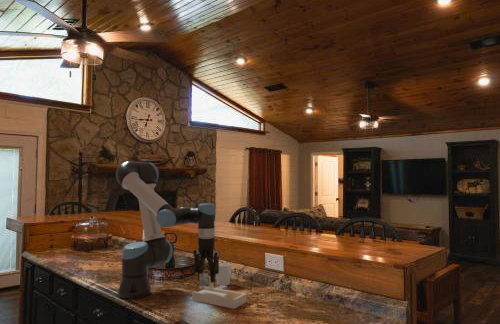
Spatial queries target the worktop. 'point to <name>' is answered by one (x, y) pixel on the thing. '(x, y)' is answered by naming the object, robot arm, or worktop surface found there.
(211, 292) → the box with sliding lid
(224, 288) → the grey tall rectangular block
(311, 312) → the worktop surface
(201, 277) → the clip
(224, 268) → the white cup
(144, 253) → the robot arm
